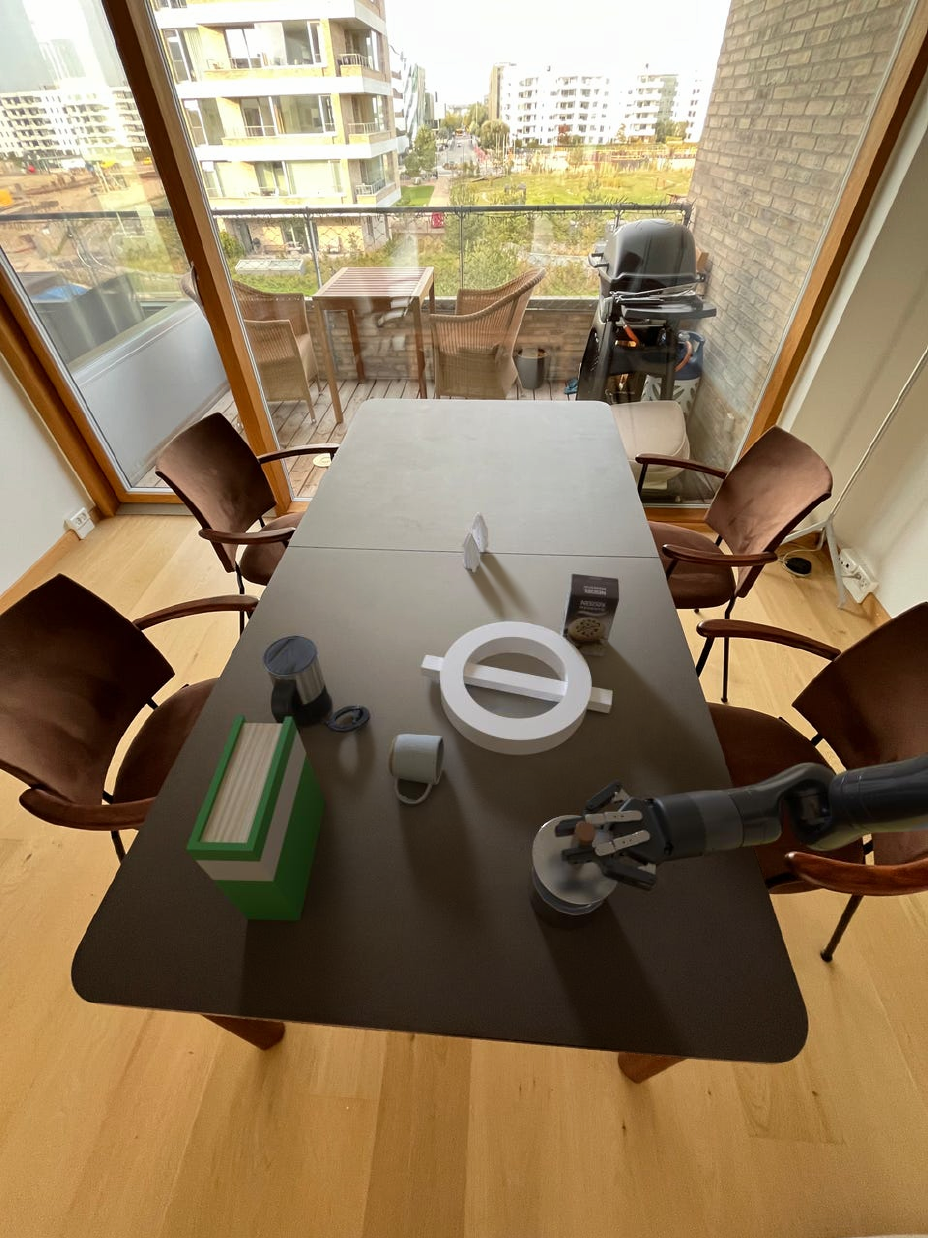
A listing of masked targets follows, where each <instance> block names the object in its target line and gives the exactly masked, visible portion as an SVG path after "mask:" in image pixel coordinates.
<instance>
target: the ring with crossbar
mask: <svg viewBox="0 0 928 1238" xmlns="http://www.w3.org/2000/svg"><path fill="white" fill-rule="evenodd" d="M509 653H510V654H521V655H526V656H530V657H533V658H536V659H537V660H539V661H541V662H543V663H545V664H546V665H548V666H549V667H550V668H551V669H552V670H553V671H554V672H555V673H556V675H557V676H558V678H559V679H560V680H559V679H555V678H551V677H550V678H549V677H545V676H544V677H543V676H540V675H534V674H528V673H523V672H518V671H513V670H508V669H503V668H498V667H493V666H487V665H482V664H479V663H480V662H481V661H483V660H485V659H487V658H489V657H492V656H495V655H499V654H509ZM588 665H589V664H588V663H587V661H586V658H584V656H583V654H581V653H580V652H579V651H578V650H577V648H576V647H575V646H574V645H573V644H571V643H570V642H569V641H568V640H567V639H565V638H564V637H562V636H561V635H560V633H558V632H556V631H553V630H551V629H549V628H547V627H545V626H542V625H539V624H535V623H529V622H523V621H498V622H492V623H488V624H484V625H482V626H478V627H475V628H473V629H472V630H469V631H468V632H466V633H465V634H463V635H462V636H460V637H459V638H458V639H457V640H455V642H454V643H453V644H451V646H450V647H449V649H448V650H447V651H446V653H445V655H444V657H442V656H436V655H431V654H425V656H424V658H423V661H422V664H421V666H420V672H421V673H420V674H421V676H424V677H428V678H435V679H439V687H440V699H441V706H442V708H443V711H444V713H445V715H446V717H447V719H448V721H449V722H450V724H451V725H452V726H453V727H454V728H455V730H456V731H457V732H458V733H459V734H461V736H463V737H464V738H465V739H467V740H468V741H469V742H471V743H473V744H475V745H476V746H478V747H481V748H483V749H484V750H488V751H492V752H495V753H499V754H504V755H513V756H526V755H532V754H533V755H534V754H539V753H542V752H546V751H549V750H551V749H554V748H556V747H558V746H559V745H561V744H563V743H564V742H566V741H567V740H568V739H570V738H571V737H572V736H573V735H574V734H575V732H576V731H577V730H578V729H579V728H580V726H581V724H582V722H583V721H584V719H585V716H586V713H587V710H591V711H595V712H600V713H606V714H610V712H611V708H612V704H613V703H612V701H613V690H611V689H606V688H600V687H595V686H592V676H591V675H592V674H591V672H590V668H589V666H588ZM465 684H467V685H472V686H476V687H480V688H481V687H482V688H486V689H492V690H497V691H501V692H506V693H511V694H515V695H520V696H526V697H531V698H534V699H535V698H536V699H541V700H544V701H545V700H546V701H551V702H556V703H557V704H555V706H554V707H553V708H551V709H549V710H548V711H546V712H544V713H541V714H539V715H536V716H532V717H525V718H512V717H506V716H501V715H498V714H495V713H493V712H491V711H489V710H487V709H485V708H483V707H482V706H480V705H479V704H478V703H477V702H476V701H475V700H474V699H473V698H472V697H471V694H470V693H469V692H468V690H467V688H466V685H465Z"/></svg>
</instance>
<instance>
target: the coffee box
mask: <svg viewBox="0 0 928 1238" xmlns="http://www.w3.org/2000/svg"><path fill="white" fill-rule="evenodd" d="M570 574H571V575H570V581H569V585H568V591H567V596H566V601H565V605H564V611H563V616H562V621H561V627H560V630H559V631H560V633H559V635H561V636H562V637H564V638H565V639H567V640H568V641H569V642H570V643H571V644H573V645H574V646H575V647H576V648H577V650H578V651H579V652H580V653H581V655H585V656H593V657H601V658H603V657H605V656H604V655H605V651H606V647H607V645H608V641H609V638H610V634H611V631H612V626H613V624H614V619H615V616H616V613H617V609H618V605H619V602H620V589H619V588H620V586H619V585H620V584H619V579H618V578H616V577H606V576H597V575H589V574H588V575H587V574H578V573H570Z"/></svg>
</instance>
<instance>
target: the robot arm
mask: <svg viewBox="0 0 928 1238" xmlns="http://www.w3.org/2000/svg"><path fill="white" fill-rule="evenodd" d="M609 804H612V805H617V804H622V805H620V807H619V808H618V809H617V810H616V811H605V812H603V813H598V812H601V810H603V809H604V808H606V806H608V805H609ZM783 810H784V812H785V815H786V818H787V822H788V824H789V827H790V830H791V833H792V835H793V836H794V838H795V839H796V841H798V842H799V843H800V844H801V845H802V846H804V847H806V848H807V849H810V850H813V851H817V852H829V851H835V850H838V849H840V848H843V847H846V846H849V845H850V844H852V843H854V842H855V841H858V840H859V839H861V838H863V837H865V836H868V835H872V834H873V835H874V834H883V833H905V832H908V833H909V832H918V831H923V830H924V831H925V830H928V751H926V752H924V753H921V754H918V755H914V756H911V757H907V758H903V759H898V760H894V761H889V762H884V763H878V764H873V765H867V766H862V767H857V768H852V769H847V770H844V771H841V772H839V773H838V774H836V773H835V772H834V771H833V770H832V769H830V768H829V767H827V766H825V765H823V764H820V763H816V762H802V763H798V764H795V765H793V766H790V767H787V768H786V769H784V770H782V771H780V772H778V773H776V774H775V775H773V776H771V777H769V778H766V779H763V780H761V781H759V782H755V783H753V784H748V785H743V786H739V787H731V788H723V789H715V790H713V789H711V790H710V789H706V790H705V789H704V790H695V791H688V792H681V793H680V792H679V793H674V794H666V795H659V796H652V797H648V798H638V797H635V796H630V795H629V794H628V793H626V791H625V790H624V789H623V784H622V782H621V781H620V780H614V781H613V782H611V783H610V784H609V785H607V786H605V787H604V788H603V789H601V790H600V791H599V792H598V793H596V794H595V795H593V796H592V797H591V798H589V799H588V800H587V801H586V802H585V806H584V808H583V812H582V814H583V815H582V816H581V817H578V818H571V819H564V820H561V821H560V822H559V824H558V825H557V826H555V830H554V832H555V836H556V837H564V836H571V835H573V834H574V831H575V828H576V825H577V824H578V823H580V822H583V821H585V822H589V823H590V824H592V825H593V827H594V828H595V832H602V833H608V834H612V835H613V837H614V838H615V839H613V841H611V842H609V843H606V844H602V845H599V846H597V847H593V846H592V845H588V846H581V847H575V848H568V849H564V850H562V852H561V859H562V861H563V862H566V861H567V863H568V865H579V864H585V863H595V864H597V865H598V866H599V868H600V869H601V873H602V875H603V876H604V877H606V878H609V879H612V880H615V881H618V883H621V884H623V885H627V886H630V887H634V888H636V889H640V890H643V891H645V892H650V891H652V889H653V888H654V887H655V885H656V884H657V882H658V877H657V875H656V869H657V868H658V867H659V866H660V865H661V864H663V863H665V862H675V861H680V860H685V859H692V858H700V857H712V856H714V855H718V854H723V853H726V852H729V851H732V850H736V849H742V848H743V849H744V848H748V847H754V846H762V845H768V844H771V843H775V842H776V841H778V840H779V839H780V838H781V836H782V834H783V828H784V817H783ZM623 858H628V859H631V860H633V861H635V862H637V863H638V864H642V865H639V866H637V867H634V866H631V865H628V864H625V863H622V862H621V863H619V862H616V861H612V860H617V859H620V860H621V859H623Z"/></svg>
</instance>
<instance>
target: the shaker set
mask: <svg viewBox="0 0 928 1238" xmlns="http://www.w3.org/2000/svg"><path fill="white" fill-rule="evenodd" d="M488 548H489V530H488V526H487V524H486V522H485V519H484V517H483V515H482V513H481V512H479V511H478V512H477V513H476V514H475V516H474V518H473V520H472V523H471V532H467V534H466V535H465V537H464V539H463V542H462V562H463V564H462V565H463V566H464V568H465V569H470V570H471V572H472V573H476V572H477V568H478V567H479V566H480V552H481V553H486V549H488Z"/></svg>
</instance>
